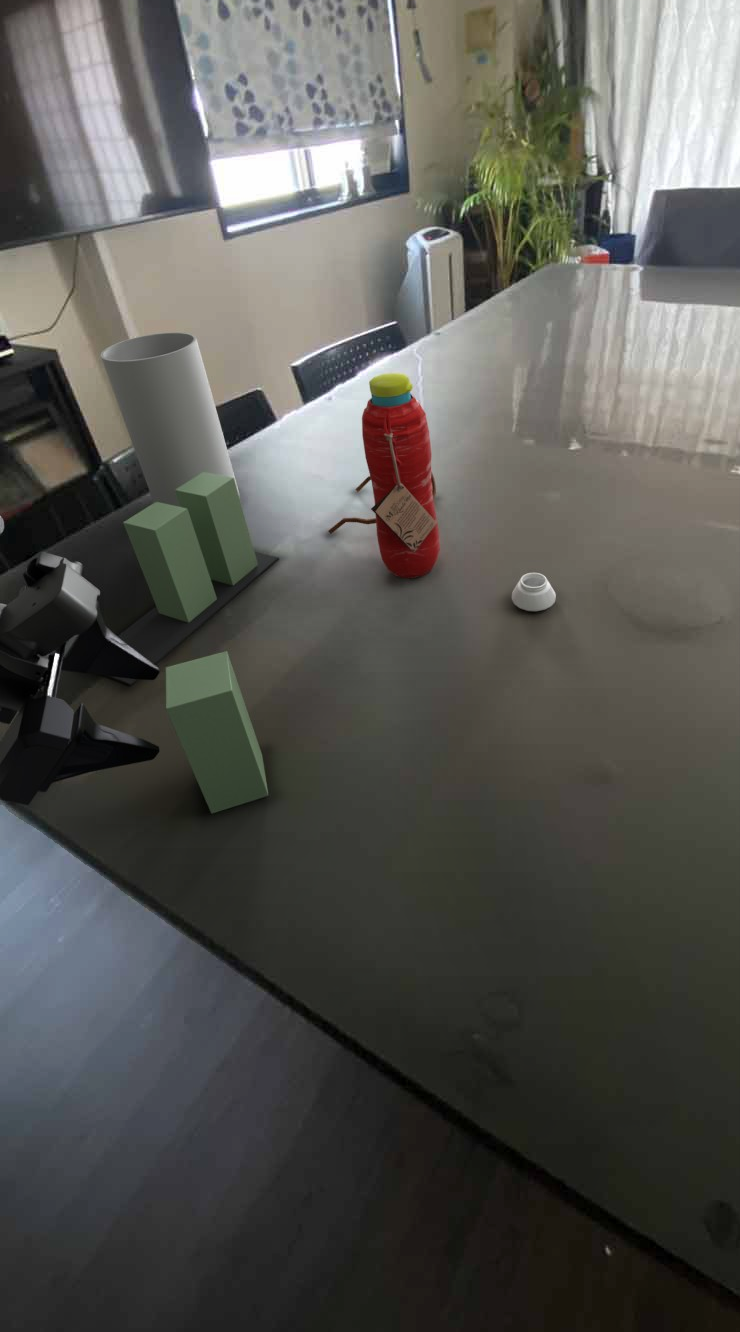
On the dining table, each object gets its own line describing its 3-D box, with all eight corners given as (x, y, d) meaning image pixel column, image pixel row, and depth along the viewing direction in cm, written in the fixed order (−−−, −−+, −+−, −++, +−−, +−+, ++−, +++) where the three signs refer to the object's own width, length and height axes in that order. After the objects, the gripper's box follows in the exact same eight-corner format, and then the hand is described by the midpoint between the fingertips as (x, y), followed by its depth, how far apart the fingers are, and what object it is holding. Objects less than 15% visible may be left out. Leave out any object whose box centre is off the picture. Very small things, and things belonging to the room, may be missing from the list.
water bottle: (440, 601, 81) (421, 399, 67) (374, 603, 82) (341, 404, 68) (445, 546, 91) (429, 360, 77) (386, 548, 92) (359, 364, 78)
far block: (233, 585, 87) (205, 496, 80) (204, 577, 89) (174, 489, 82) (258, 565, 91) (233, 477, 83) (229, 557, 93) (203, 471, 85)
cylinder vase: (252, 487, 110) (211, 330, 96) (222, 528, 100) (170, 359, 86) (181, 488, 112) (130, 334, 98) (144, 528, 102) (81, 363, 88)
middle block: (188, 622, 81) (154, 530, 74) (158, 613, 84) (122, 522, 76) (217, 599, 85) (187, 508, 78) (187, 590, 87) (156, 501, 80)
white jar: (524, 583, 83) (504, 606, 79) (524, 563, 81) (503, 585, 78) (562, 595, 80) (543, 618, 77) (563, 574, 78) (543, 598, 75)
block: (211, 814, 59) (165, 708, 52) (208, 770, 63) (165, 667, 56) (268, 796, 60) (231, 690, 53) (262, 754, 64) (226, 650, 57)
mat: (130, 685, 74) (130, 683, 73) (81, 666, 77) (80, 664, 77) (279, 559, 92) (278, 557, 92) (233, 548, 95) (233, 546, 95)
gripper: (-45, 641, 37) (217, 722, 45) (14, 492, 51) (203, 574, 60) (-127, 781, 39) (134, 832, 48) (-48, 602, 54) (141, 665, 63)
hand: (157, 711), depth 55 cm, fingers open, 9 cm apart
